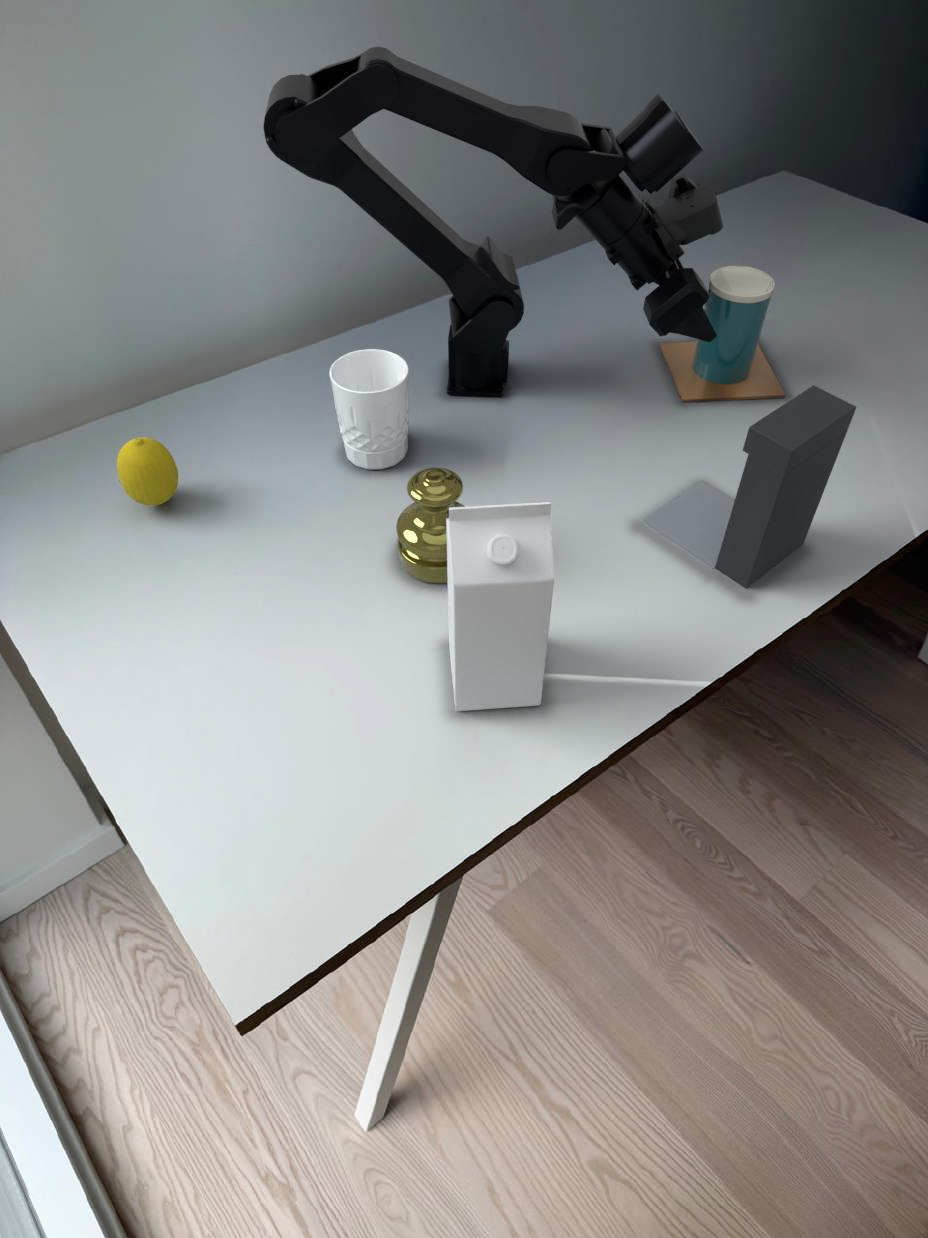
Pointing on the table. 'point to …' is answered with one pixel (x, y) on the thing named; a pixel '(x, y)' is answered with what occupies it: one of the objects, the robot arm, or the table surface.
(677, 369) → the cork mat
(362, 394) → the white cup
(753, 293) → the container
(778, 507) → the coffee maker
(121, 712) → the table surface
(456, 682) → the milk carton
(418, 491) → the brass calibration weight
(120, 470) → the lemon
